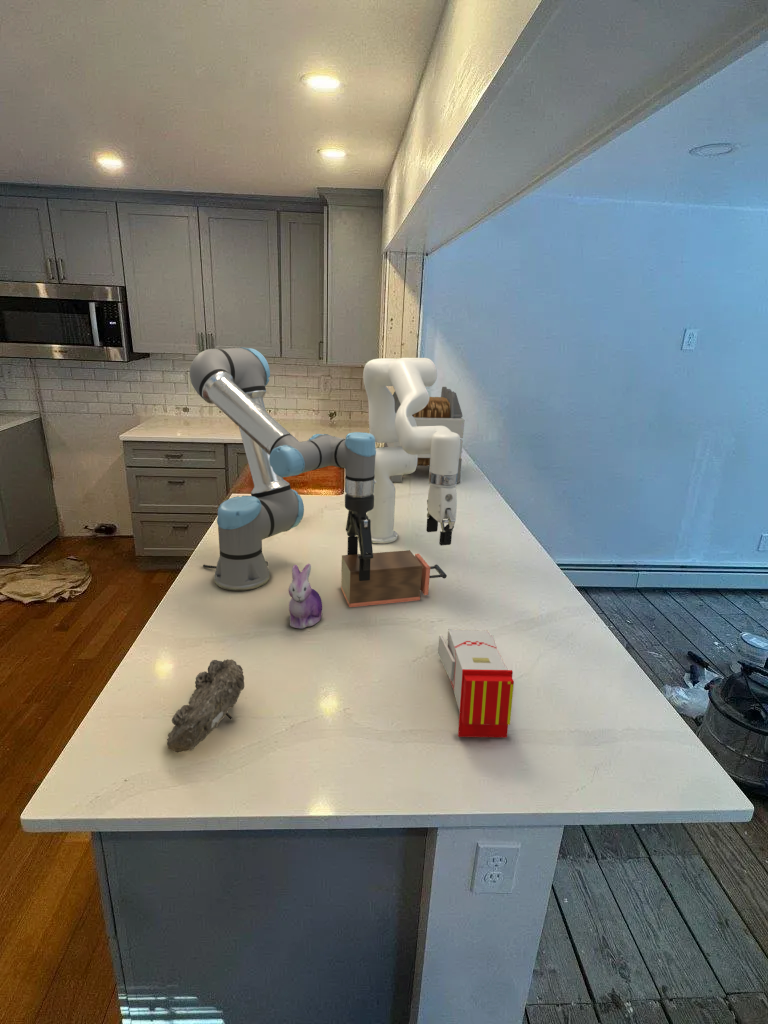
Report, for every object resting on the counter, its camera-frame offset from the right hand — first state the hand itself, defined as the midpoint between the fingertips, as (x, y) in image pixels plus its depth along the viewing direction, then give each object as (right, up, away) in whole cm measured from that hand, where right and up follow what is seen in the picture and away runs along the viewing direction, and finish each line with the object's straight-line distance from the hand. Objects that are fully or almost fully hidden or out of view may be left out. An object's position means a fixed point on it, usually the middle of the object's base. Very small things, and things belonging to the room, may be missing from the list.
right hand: (438, 537), depth 156 cm
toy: (+3, -31, -38) cm, 49 cm away
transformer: (+2, +26, +119) cm, 121 cm away
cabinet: (-16, -16, +1) cm, 23 cm away
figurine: (-35, -20, -14) cm, 43 cm away
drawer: (-10, -14, +2) cm, 18 cm away
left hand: (-22, -8, -4) cm, 24 cm away
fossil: (-48, -32, -48) cm, 75 cm away
